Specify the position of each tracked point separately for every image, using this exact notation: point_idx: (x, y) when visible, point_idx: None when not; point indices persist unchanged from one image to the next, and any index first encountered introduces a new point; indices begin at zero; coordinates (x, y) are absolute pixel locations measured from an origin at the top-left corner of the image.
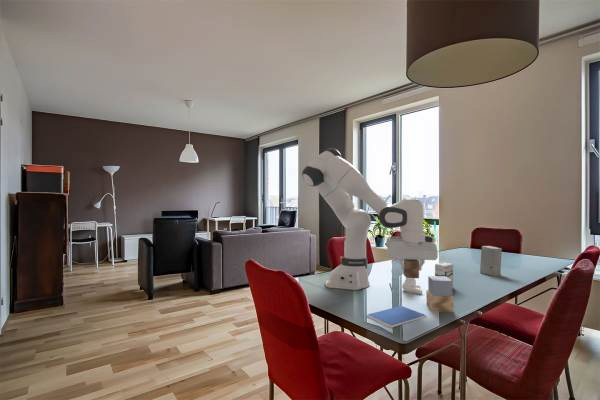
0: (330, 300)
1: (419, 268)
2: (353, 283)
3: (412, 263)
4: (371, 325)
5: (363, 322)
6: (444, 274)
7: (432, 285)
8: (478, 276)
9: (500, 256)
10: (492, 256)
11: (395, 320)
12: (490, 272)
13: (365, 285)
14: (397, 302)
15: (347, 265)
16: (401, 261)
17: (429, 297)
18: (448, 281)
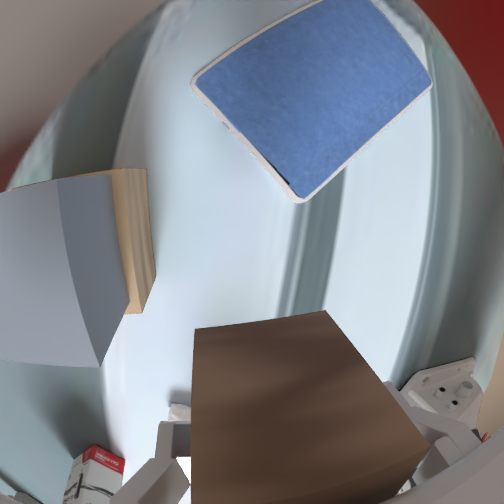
0: (496, 240)
1: (183, 434)
2: (429, 393)
3: (317, 451)
4: (408, 15)
5: (430, 40)
6: (81, 489)
7: (85, 202)
8: (46, 498)
9: None
10: None
11: (343, 18)
12: (27, 500)
13: None
14: (304, 272)
15: (473, 429)
16: (447, 434)
17: (135, 222)
18: None
